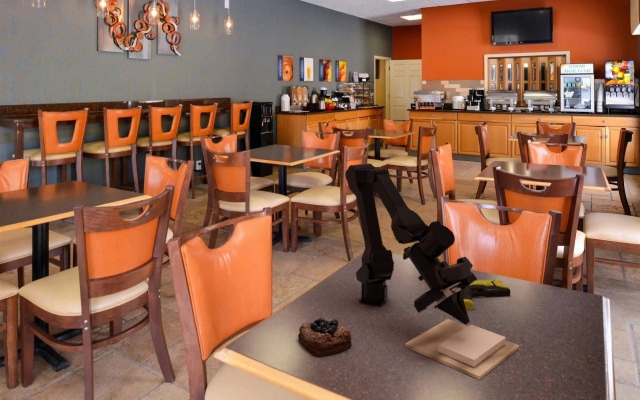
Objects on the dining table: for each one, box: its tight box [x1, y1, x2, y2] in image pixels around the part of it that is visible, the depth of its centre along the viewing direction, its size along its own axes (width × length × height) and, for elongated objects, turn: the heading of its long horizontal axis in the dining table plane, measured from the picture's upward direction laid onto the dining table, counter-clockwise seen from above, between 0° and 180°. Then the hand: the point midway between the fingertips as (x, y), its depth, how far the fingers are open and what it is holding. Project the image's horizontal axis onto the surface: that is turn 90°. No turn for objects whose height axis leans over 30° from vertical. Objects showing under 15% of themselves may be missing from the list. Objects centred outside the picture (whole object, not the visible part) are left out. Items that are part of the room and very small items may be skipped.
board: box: [404, 318, 520, 381], centre depth 116 cm, size 19×18×1 cm
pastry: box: [297, 317, 352, 358], centre depth 119 cm, size 11×12×6 cm
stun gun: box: [441, 279, 511, 311], centre depth 143 cm, size 3×19×15 cm
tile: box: [438, 324, 507, 367], centre depth 114 cm, size 2×14×9 cm
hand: (467, 323), depth 114 cm, fingers closed
